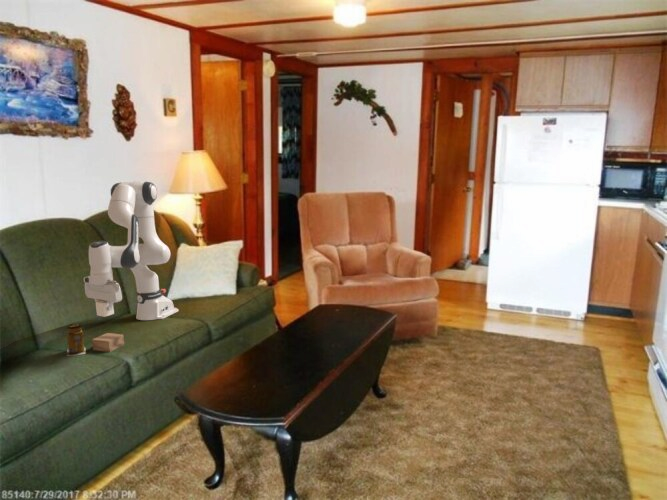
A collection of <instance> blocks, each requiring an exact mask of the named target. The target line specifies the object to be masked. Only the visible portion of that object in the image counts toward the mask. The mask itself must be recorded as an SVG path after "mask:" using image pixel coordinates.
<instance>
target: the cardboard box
mask: <svg viewBox="0 0 667 500" xmlns="http://www.w3.org/2000/svg"><path fill="white" fill-rule="evenodd" d="M124 338H125V337H124V334H119V333H112V332H106V333H104V334H102V335H99V336H97V337H95V338H92V339H91V341H92V350H93V351H98V352H99V351H100V352H109V353H111V352H113V351H115V350H117V349H119V348H121V347H123V346H125V339H124Z"/></svg>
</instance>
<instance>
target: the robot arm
mask: <svg viewBox="0 0 667 500" xmlns="http://www.w3.org/2000/svg"><path fill="white" fill-rule="evenodd" d="M157 197H158V189H157V187H156V185H155V184H154V183H153V182H151V181H136V180H135V181H126V182H116V183H114V184H113V185H112V186H111V188H110V200H109V204H108V208H107V215H108V217H109V218H110V220H111V222H113V223H114V224H116V225H117V226H118V225H119V226H122V227H124V228H125V229H127V242H126V244H125V245H110V244H109V242H108V241H107V240H106V241H105V240H97V241H94V242H91V243H90V244H89V246H88V263H89V266H90V272H89V273H90V275H88V276H85V277H83V282H84V292H85V294H84V295H85V296H86V298H88V299H94V302H95V303H96V302H97V300H104V301H108V303H109V305H108V307H107V310H108V311H111V310H113V307H114V303H115V304H116V303H119V302H121V301H122V300H123V294H122V293H123V292H122V290H121V289H122V288H121V287H120V283H118V282H117V280H114V275H113V274H114V272H113V269H112V268H123V269H130V271H131V272H132V273H133V276H134V280H135V286H136V292H135V295H136V301H137V310H136V316H135V318H136V320H138V321H139V320H140V321H153V320H164V319H166V318H168V317H169V316H171V315H174V314H175V313H178V312H179V309H178V308H177V307H175V306H174V303H173V300H171V299H170V298H168V297H167V296H165V295H164V294H165V293H166V292H167V290H166V288H160V282H159V276H158V274H157V273H156V272H155V271H153V270H151V269H150V268H149V267H148V266H151V265H152V266H153V265H154V266H157V265H162V264H166V263H168V262H169V260H170V258H171V255H172V254H171V250H170V248H169V246H168V245H167V244H166V243H164V242H163V241H162V240H161V239H160V238H159V236H158V234H157V231H156V230H157V229H156V223H155V222H156V221H155V211H154V207H153V206H154V205H153V203H154V202H155V201H156V200H157ZM140 239H142V241H143V243H140ZM112 306H113V307H112Z"/></svg>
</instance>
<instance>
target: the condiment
mask: <svg viewBox="0 0 667 500" xmlns="http://www.w3.org/2000/svg"><path fill="white" fill-rule="evenodd" d="M66 329H67V333H66V337H67V345H68V346H67V347H68V349H67V350H66V357H74V356H80V355H85V354H86V353H87V352H86V351H87V350H86V347H85V343H84V336H83V334H84V333H83V330H82V325H81V324H80V323H72V324H68V325H67V327H66Z"/></svg>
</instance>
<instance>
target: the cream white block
mask: <svg viewBox="0 0 667 500" xmlns="http://www.w3.org/2000/svg"><path fill="white" fill-rule="evenodd" d="M108 305H109V303H108V301H104V300H97V302H95V310H96V316H97V317H98V316H99V317H104V318H105V317H108V316H111V315H115V309H114V305H113V306H112V307H113V310H111V311H108V310H107V307H108Z"/></svg>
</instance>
